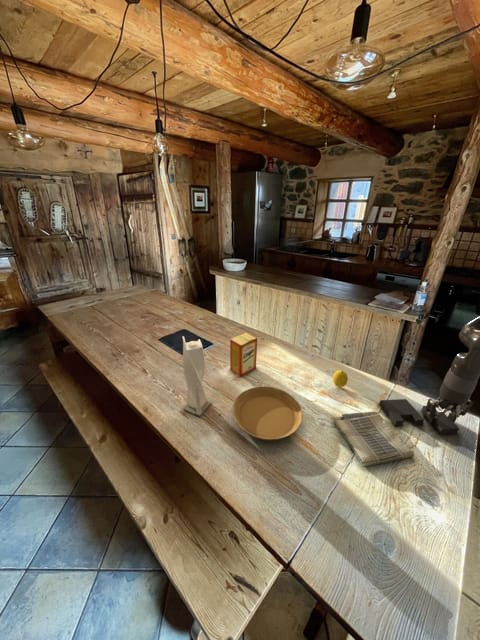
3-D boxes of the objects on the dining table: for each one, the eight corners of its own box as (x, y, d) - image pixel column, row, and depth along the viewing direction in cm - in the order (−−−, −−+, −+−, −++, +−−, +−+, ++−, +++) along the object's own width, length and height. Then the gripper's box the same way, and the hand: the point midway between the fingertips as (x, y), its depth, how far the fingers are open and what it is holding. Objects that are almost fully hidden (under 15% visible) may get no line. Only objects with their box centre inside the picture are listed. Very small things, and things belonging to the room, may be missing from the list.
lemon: (346, 385, 109) (350, 369, 106) (344, 393, 105) (347, 376, 102) (333, 380, 112) (336, 365, 108) (329, 388, 108) (333, 372, 104)
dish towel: (415, 458, 80) (418, 451, 78) (362, 469, 76) (364, 461, 75) (375, 412, 96) (377, 406, 95) (330, 419, 93) (331, 413, 91)
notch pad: (404, 404, 100) (406, 398, 99) (422, 425, 91) (424, 419, 90) (378, 405, 99) (380, 400, 98) (394, 426, 90) (396, 421, 89)
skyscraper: (180, 408, 97) (173, 342, 84) (193, 394, 103) (188, 331, 91) (200, 416, 93) (195, 348, 81) (212, 401, 100) (209, 336, 88)
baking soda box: (240, 376, 113) (240, 344, 106) (230, 369, 118) (230, 338, 111) (255, 368, 119) (257, 337, 112) (246, 361, 123) (246, 331, 116)
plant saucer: (300, 453, 81) (301, 445, 79) (224, 437, 86) (224, 429, 84) (302, 398, 102) (303, 392, 100) (241, 388, 107) (241, 381, 105)
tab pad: (433, 410, 97) (436, 405, 96) (456, 433, 88) (459, 428, 87) (418, 411, 97) (420, 405, 96) (439, 434, 88) (442, 429, 87)
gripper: (445, 393, 80) (427, 433, 87) (490, 392, 81) (468, 431, 88) (428, 378, 87) (413, 416, 94) (469, 376, 88) (451, 414, 95)
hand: (440, 423), depth 91 cm, fingers closed on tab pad, 6 cm apart
